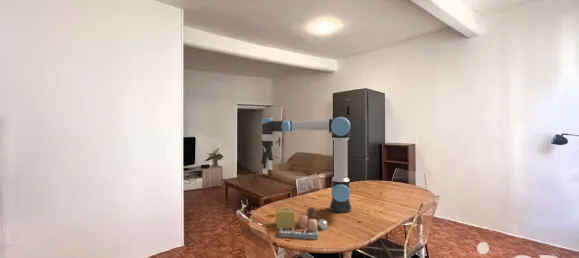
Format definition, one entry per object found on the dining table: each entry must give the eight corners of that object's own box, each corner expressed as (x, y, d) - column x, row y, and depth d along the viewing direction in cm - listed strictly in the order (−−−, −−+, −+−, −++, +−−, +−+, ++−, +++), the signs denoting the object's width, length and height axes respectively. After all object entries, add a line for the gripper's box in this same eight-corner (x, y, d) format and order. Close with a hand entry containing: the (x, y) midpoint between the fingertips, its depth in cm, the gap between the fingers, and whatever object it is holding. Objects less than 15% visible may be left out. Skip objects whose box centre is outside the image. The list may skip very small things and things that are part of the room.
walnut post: (315, 220, 166) (315, 207, 166) (314, 222, 162) (314, 209, 161) (308, 219, 167) (308, 207, 167) (307, 222, 162) (307, 209, 162)
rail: (318, 233, 146) (318, 228, 146) (317, 239, 138) (317, 234, 138) (281, 231, 149) (281, 226, 149) (278, 236, 142) (278, 232, 142)
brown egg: (308, 225, 158) (308, 215, 158) (307, 228, 153) (307, 218, 153) (299, 224, 159) (299, 214, 159) (298, 227, 154) (298, 217, 154)
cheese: (275, 222, 162) (275, 206, 162) (293, 222, 163) (293, 206, 163) (276, 229, 152) (276, 212, 152) (294, 228, 153) (294, 211, 152)
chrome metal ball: (327, 226, 156) (327, 219, 156) (327, 230, 150) (327, 223, 150) (317, 225, 157) (317, 219, 157) (316, 229, 151) (316, 222, 151)
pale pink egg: (317, 229, 152) (317, 219, 151) (316, 233, 147) (316, 222, 146) (308, 228, 152) (308, 218, 152) (307, 232, 147) (307, 221, 147)
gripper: (266, 139, 193) (267, 168, 194) (256, 141, 169) (256, 174, 169) (276, 139, 192) (277, 168, 193) (268, 141, 168) (268, 175, 168)
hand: (267, 171), depth 181 cm, fingers open, 13 cm apart
